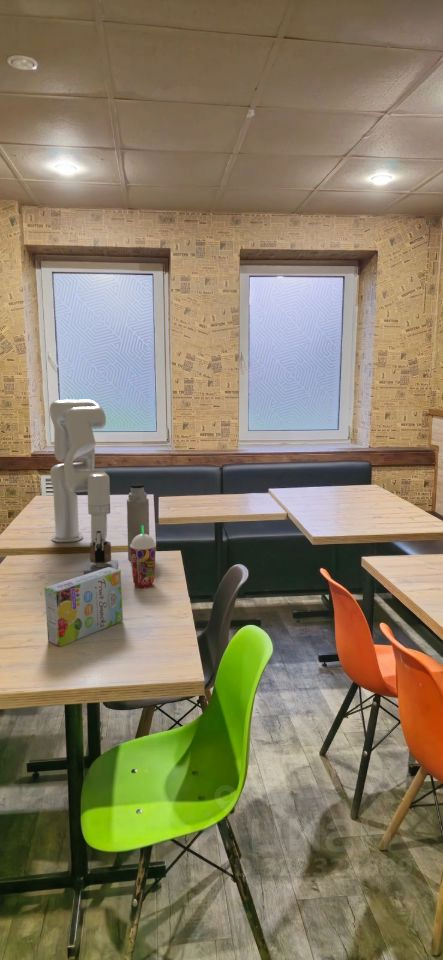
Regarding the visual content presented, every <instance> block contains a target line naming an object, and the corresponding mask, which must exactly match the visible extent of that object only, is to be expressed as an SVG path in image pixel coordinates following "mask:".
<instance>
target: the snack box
mask: <svg viewBox="0 0 443 960" xmlns="http://www.w3.org/2000/svg"><path fill="white" fill-rule="evenodd" d="M121 573H122V572H121V570H120V569H118V568H117V569H114V568H111V567H107V568H104V569H101V570H98V571H95V572H92V573H88V574H85V575H84V574H82V575H79V576H77V577H73V578H71V579H67V580H63V581H60V582H57V583H54V584H52V585H48V586H45V587H44V598H45V615H46V625H47V626H46V627H47V630H46V631H47V641H48V643H51V644H53V645H55V646H57V647H59V648H60V647H64V646H65V645H68V644H71V643H72V642H75V641H77V640H79V639H82V638H85V637H87V636H90V635H92V634H94V633H97V632H99V631H102V630H104V629H106V628H109V627H112V626H114V625H116V624H119V623H122V622H123V620H124V619H123V617H124V616H123V596H122V595H123V594H122V574H121Z"/></svg>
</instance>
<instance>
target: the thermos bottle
mask: <svg viewBox="0 0 443 960" xmlns="http://www.w3.org/2000/svg"><path fill="white" fill-rule="evenodd" d="M147 497H148V494H147V493H146V492H145V484H143V483H132V484H131V485H130V492H129V493H128V497H127V498H128V499H126V513H127V514H126V522H127V523H126V524H127V558H128V560H130V561H131V550H130V544H131V543H132V540H133V539H134V538H135V537H136V536H137V535H139V534H142V526H144V534H147V535H149V536H150V509H149V508H150V503H149V500H150V499H149V498H147Z"/></svg>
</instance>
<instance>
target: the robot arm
mask: <svg viewBox="0 0 443 960" xmlns="http://www.w3.org/2000/svg"><path fill="white" fill-rule="evenodd" d="M49 416H50V418H51V422H52V425H53V428H54V437H53V438H54V443H53V445H54V447H53V448H54V449H53V450H54V458H55V459H56V460H57V461H58V462H63V463H58V464H55V465H53V466H52V467H51V468H50V472H49V473H50V474H49V475H50V480H51V486H52V491H53V505H54V506H53V507H54V508H53V510H54V528H55V529H54V531H55V534H53V535H52V536H51V540H52V541H53V542H56V543H74V542H78V541H81V540H82V539H84V534H82V533H80V528H79V502H78V501H79V499H78V495H77V493H83V492H87V512H88V513H87V514H88V515H90V536H91V537H90V543H93V542H95V562H104V561H105V553H104V542H105V541H107V537H108V515H109V514H111V492H110V491H111V490H110V489H111V488H110V481H111V480H110V476H109V474H108V473H106V472H105V470H103V469H99V468H98V469H95V462H96V461H95V459H96V458H95V457H96V454H95V453H96V452H95V451H96V450H95V447H96V440H95V435H94V432H93V430H100V429H103V428H104V427H106V422H107V418H106V414H105V411H104V409H103V408H102V406H101V405H99V404H98V403H97V402H96V401H95V400H92V399H59V400H54V401H52V402H51V403H50V405H49ZM101 541H102V542H101ZM101 544H102V545H101Z"/></svg>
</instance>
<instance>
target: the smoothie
mask: <svg viewBox="0 0 443 960" xmlns="http://www.w3.org/2000/svg"><path fill="white" fill-rule="evenodd" d="M156 546H157V544H156V543H155V540H154V539H153V537H152V536H151V535H150V534H149V535H147V534H144V526H142V534H139V535H137V536H136V537H135V538H134V539H133V540H132V543H131V544H130V550H131V560H130V561H131V570H132V571H131V573H132V582H133V584H134V587H136V588H139V589H147V588H151V587H152V586H153V584H154V582H155V574H156V573H155V570H156V569H155V568H156V550H157V549H156Z"/></svg>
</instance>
